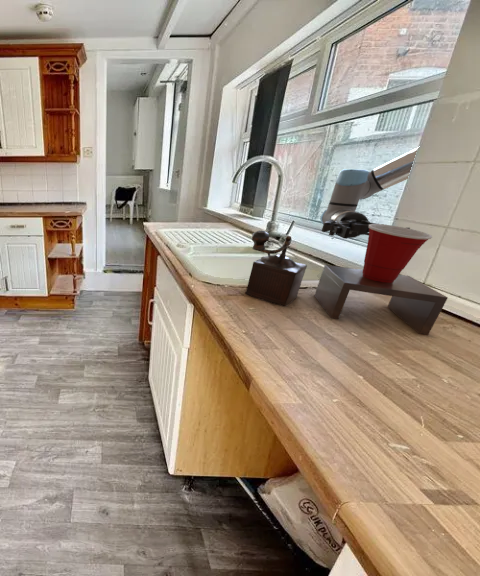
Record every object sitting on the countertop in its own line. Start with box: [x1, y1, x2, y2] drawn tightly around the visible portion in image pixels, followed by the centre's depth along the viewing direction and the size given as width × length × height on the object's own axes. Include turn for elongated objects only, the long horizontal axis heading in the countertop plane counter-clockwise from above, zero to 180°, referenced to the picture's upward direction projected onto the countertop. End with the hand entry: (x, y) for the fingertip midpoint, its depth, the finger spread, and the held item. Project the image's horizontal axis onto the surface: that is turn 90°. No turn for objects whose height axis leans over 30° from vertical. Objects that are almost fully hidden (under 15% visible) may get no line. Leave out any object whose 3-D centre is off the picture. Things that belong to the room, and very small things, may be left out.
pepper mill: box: [244, 230, 308, 307], centre depth 78 cm, size 16×11×18 cm
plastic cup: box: [362, 223, 433, 283], centre depth 70 cm, size 11×11×12 cm
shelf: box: [314, 264, 449, 336], centre depth 74 cm, size 18×15×9 cm
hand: (380, 236), depth 75 cm, fingers open, 13 cm apart
